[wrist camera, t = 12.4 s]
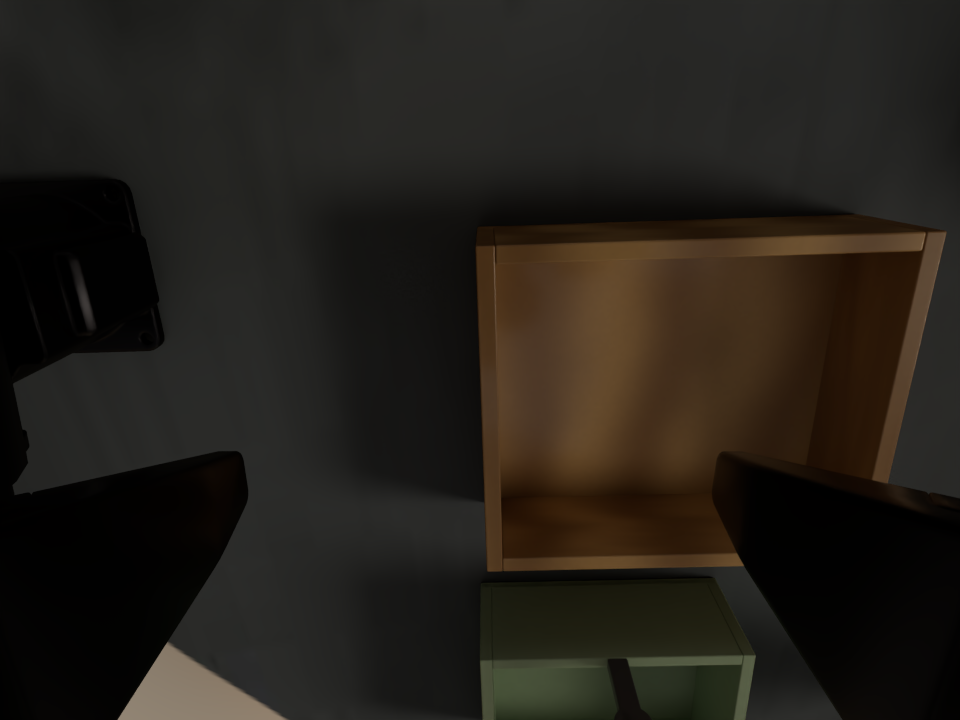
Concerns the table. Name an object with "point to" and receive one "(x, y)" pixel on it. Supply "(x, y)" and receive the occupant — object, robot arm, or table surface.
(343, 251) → the table surface
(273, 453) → the table surface
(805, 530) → the robot arm
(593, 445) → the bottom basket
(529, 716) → the top basket
